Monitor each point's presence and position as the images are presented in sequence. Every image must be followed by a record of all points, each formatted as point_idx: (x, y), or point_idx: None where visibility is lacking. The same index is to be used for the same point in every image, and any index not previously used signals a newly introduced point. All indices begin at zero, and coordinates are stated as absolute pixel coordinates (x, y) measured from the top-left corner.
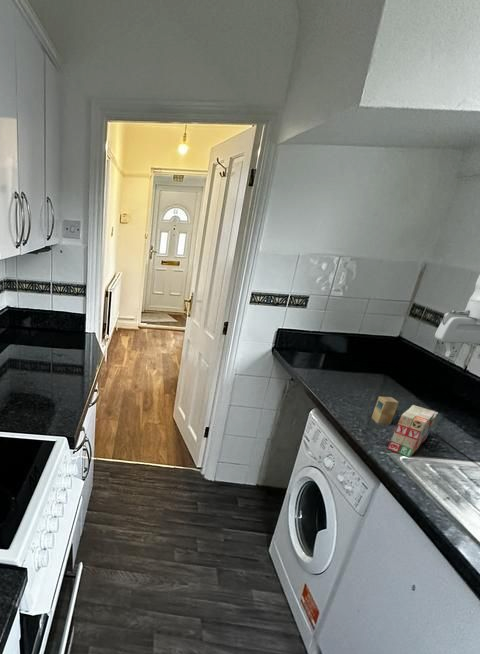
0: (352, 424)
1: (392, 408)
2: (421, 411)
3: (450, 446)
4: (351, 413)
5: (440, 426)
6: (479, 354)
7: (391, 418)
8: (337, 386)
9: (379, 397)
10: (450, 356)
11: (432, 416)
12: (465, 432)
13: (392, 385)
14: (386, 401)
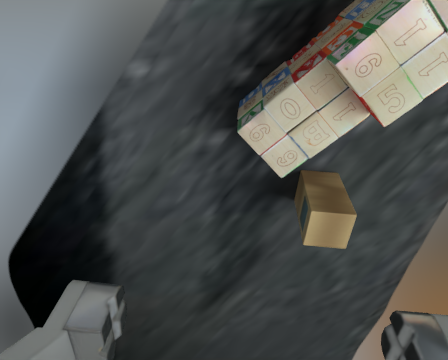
0: (443, 150)
1: (320, 197)
2: (413, 55)
3: (220, 27)
4: (378, 217)
5: (156, 162)
6: (114, 342)
7: (306, 178)
8: (283, 347)
9: (346, 243)
10: (429, 315)
11: (358, 39)
12: (102, 132)
13: (132, 355)
14: (353, 214)
